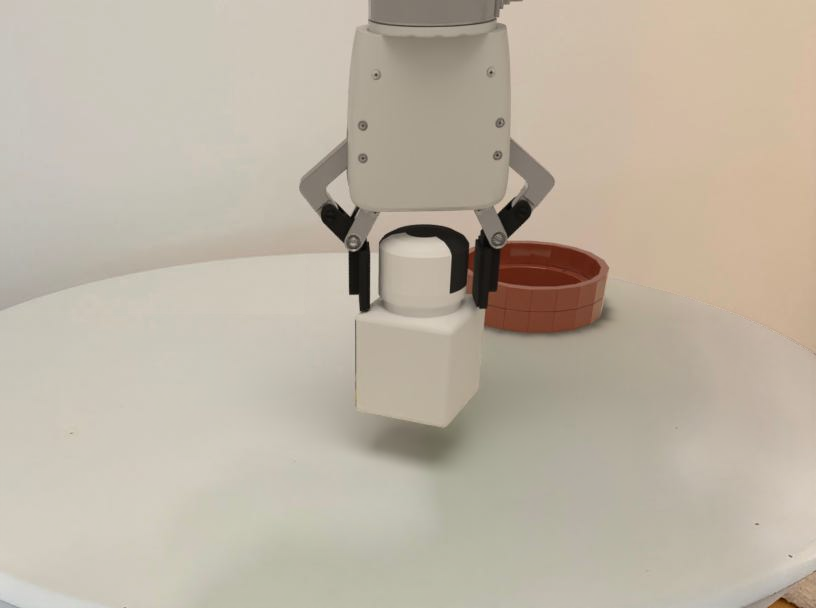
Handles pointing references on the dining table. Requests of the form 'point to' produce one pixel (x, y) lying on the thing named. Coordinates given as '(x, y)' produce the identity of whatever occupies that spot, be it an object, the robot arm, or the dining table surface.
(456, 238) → the medicine bottle
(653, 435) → the dining table surface
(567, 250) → the bowl
